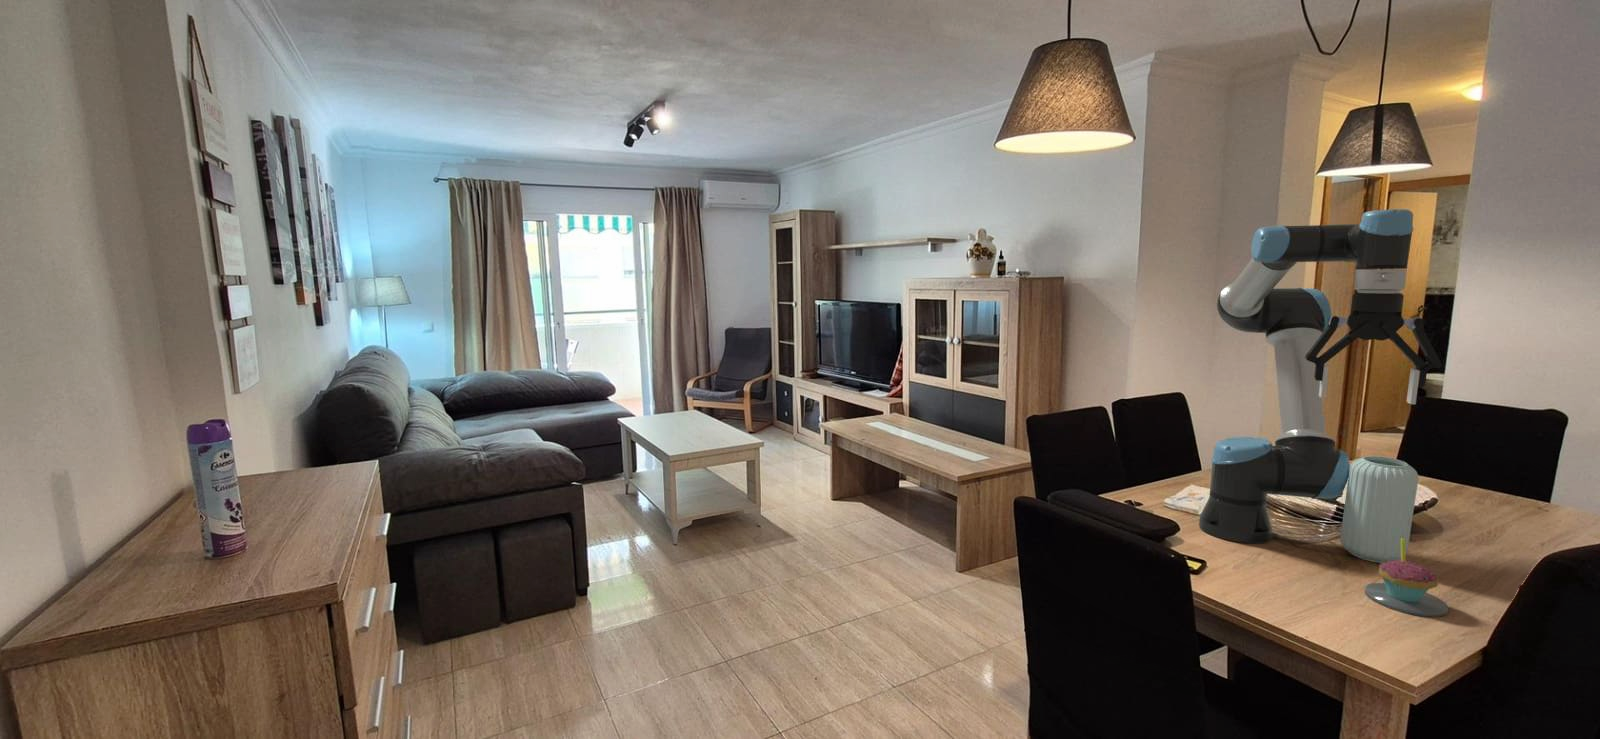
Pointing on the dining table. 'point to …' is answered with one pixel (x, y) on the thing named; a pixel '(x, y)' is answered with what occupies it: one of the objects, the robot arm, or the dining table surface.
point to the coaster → (1425, 607)
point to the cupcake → (1406, 578)
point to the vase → (1378, 508)
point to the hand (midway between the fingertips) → (1365, 400)
